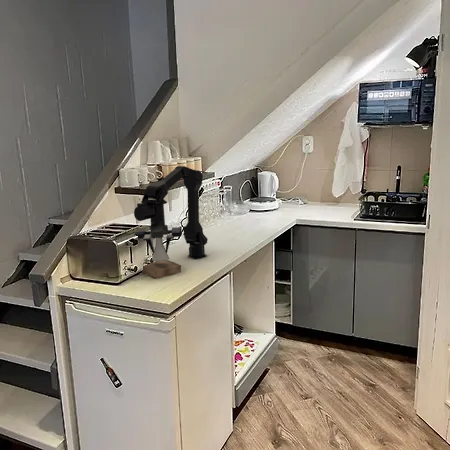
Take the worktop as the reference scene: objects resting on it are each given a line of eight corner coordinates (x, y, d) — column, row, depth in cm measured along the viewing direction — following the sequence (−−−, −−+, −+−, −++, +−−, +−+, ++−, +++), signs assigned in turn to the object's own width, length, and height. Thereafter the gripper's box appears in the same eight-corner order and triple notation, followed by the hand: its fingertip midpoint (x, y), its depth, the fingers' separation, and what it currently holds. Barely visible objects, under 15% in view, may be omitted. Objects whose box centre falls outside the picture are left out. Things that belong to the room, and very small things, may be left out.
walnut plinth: (166, 265, 197) (165, 259, 197) (181, 272, 188) (180, 265, 187) (141, 272, 190) (140, 265, 189) (155, 279, 181) (155, 271, 180)
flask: (170, 256, 192) (168, 233, 189) (168, 261, 184) (166, 237, 182) (152, 257, 191) (151, 234, 189) (150, 262, 184) (148, 238, 182)
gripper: (131, 221, 176) (134, 260, 179) (179, 219, 177) (182, 257, 180) (135, 215, 186) (138, 252, 190) (180, 213, 187) (183, 250, 191)
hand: (160, 253), depth 187 cm, fingers closed on flask, 5 cm apart
